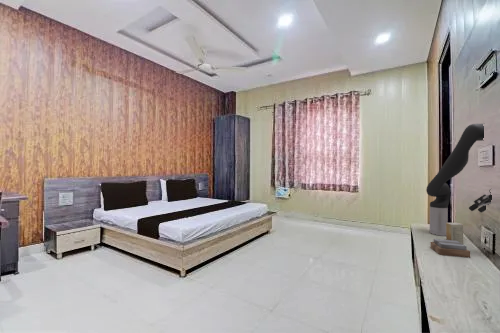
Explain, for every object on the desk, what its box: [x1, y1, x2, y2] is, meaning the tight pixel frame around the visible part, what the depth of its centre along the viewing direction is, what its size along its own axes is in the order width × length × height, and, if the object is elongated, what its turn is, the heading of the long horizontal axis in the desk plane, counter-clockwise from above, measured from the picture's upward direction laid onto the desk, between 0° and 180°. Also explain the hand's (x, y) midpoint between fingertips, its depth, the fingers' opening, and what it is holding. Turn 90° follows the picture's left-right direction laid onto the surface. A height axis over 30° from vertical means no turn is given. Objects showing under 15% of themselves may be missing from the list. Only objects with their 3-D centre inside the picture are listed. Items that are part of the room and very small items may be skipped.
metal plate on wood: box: [429, 238, 471, 259], centre depth 124 cm, size 12×12×5 cm
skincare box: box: [445, 222, 465, 245], centre depth 135 cm, size 6×4×12 cm
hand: (474, 210), depth 128 cm, fingers open, 8 cm apart
